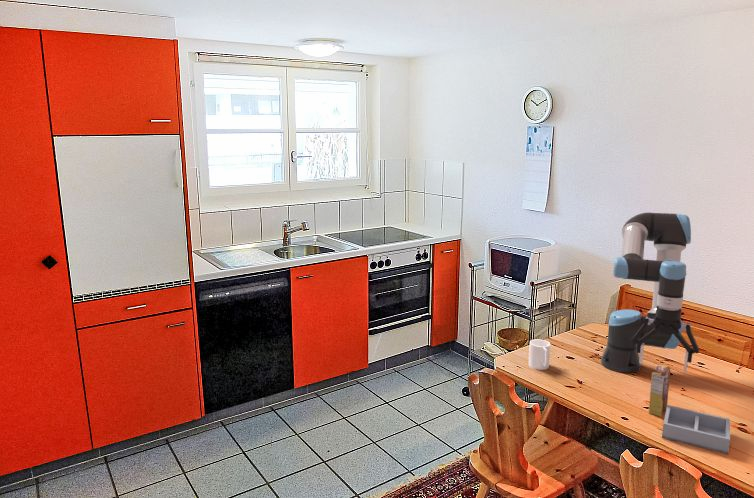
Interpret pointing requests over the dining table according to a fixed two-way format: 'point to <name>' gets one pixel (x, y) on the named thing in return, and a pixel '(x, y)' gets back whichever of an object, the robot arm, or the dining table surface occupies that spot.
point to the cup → (539, 354)
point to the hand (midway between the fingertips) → (662, 366)
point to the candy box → (659, 390)
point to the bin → (697, 429)
